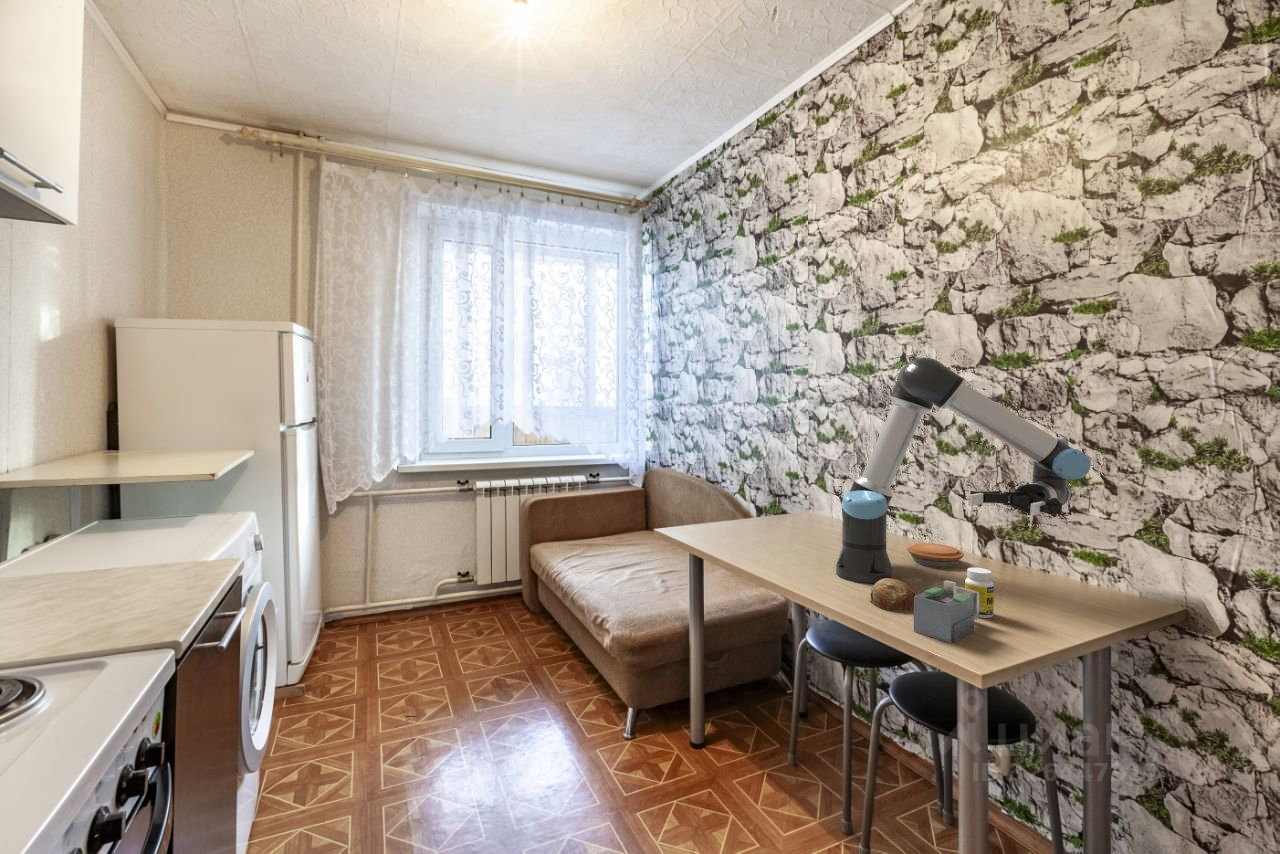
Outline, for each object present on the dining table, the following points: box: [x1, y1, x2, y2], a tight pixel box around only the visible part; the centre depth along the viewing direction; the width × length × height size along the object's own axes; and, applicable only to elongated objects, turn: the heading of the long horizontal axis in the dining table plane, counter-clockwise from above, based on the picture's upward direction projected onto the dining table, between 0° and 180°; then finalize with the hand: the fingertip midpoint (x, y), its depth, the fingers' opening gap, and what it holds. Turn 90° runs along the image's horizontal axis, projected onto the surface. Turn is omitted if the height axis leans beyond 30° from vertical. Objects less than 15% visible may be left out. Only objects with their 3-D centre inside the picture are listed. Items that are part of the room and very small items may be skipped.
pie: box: [906, 542, 965, 568], centre depth 170 cm, size 16×16×5 cm
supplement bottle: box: [964, 567, 995, 619], centre depth 128 cm, size 6×6×10 cm
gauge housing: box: [913, 586, 975, 644], centre depth 118 cm, size 10×8×8 cm
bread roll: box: [869, 578, 916, 611], centre depth 135 cm, size 10×10×8 cm
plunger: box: [939, 579, 980, 621], centre depth 121 cm, size 10×5×9 cm, turn 126°
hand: (999, 504), depth 134 cm, fingers open, 13 cm apart
